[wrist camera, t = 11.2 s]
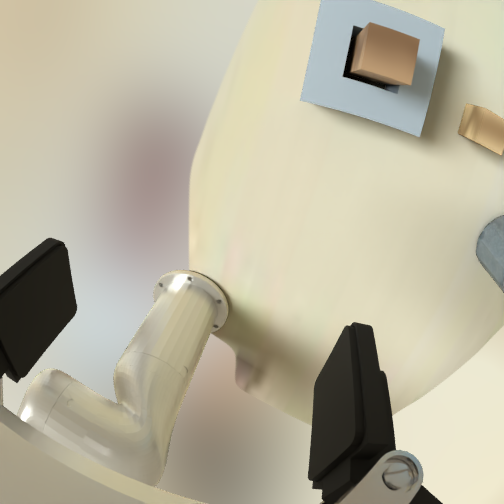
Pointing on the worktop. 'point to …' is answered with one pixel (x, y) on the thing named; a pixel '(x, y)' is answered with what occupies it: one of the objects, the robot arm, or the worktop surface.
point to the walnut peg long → (383, 55)
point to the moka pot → (493, 250)
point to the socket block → (361, 94)
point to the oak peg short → (483, 128)
